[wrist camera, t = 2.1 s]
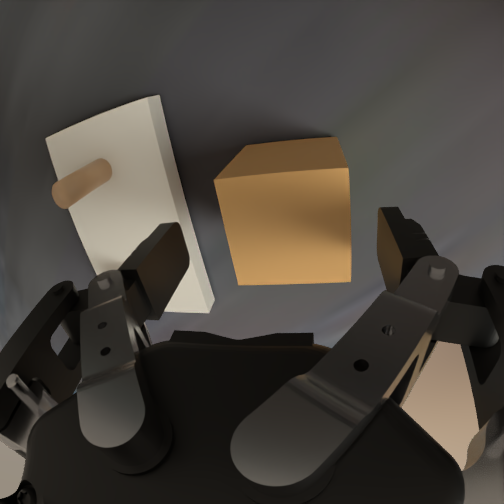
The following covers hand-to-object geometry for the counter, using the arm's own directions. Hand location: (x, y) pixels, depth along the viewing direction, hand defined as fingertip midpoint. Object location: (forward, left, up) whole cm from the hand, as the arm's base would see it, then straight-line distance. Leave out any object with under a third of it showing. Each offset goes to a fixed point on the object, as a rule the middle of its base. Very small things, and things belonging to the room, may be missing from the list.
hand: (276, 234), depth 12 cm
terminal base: (+11, +1, -6) cm, 13 cm away
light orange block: (0, 0, -6) cm, 6 cm away
